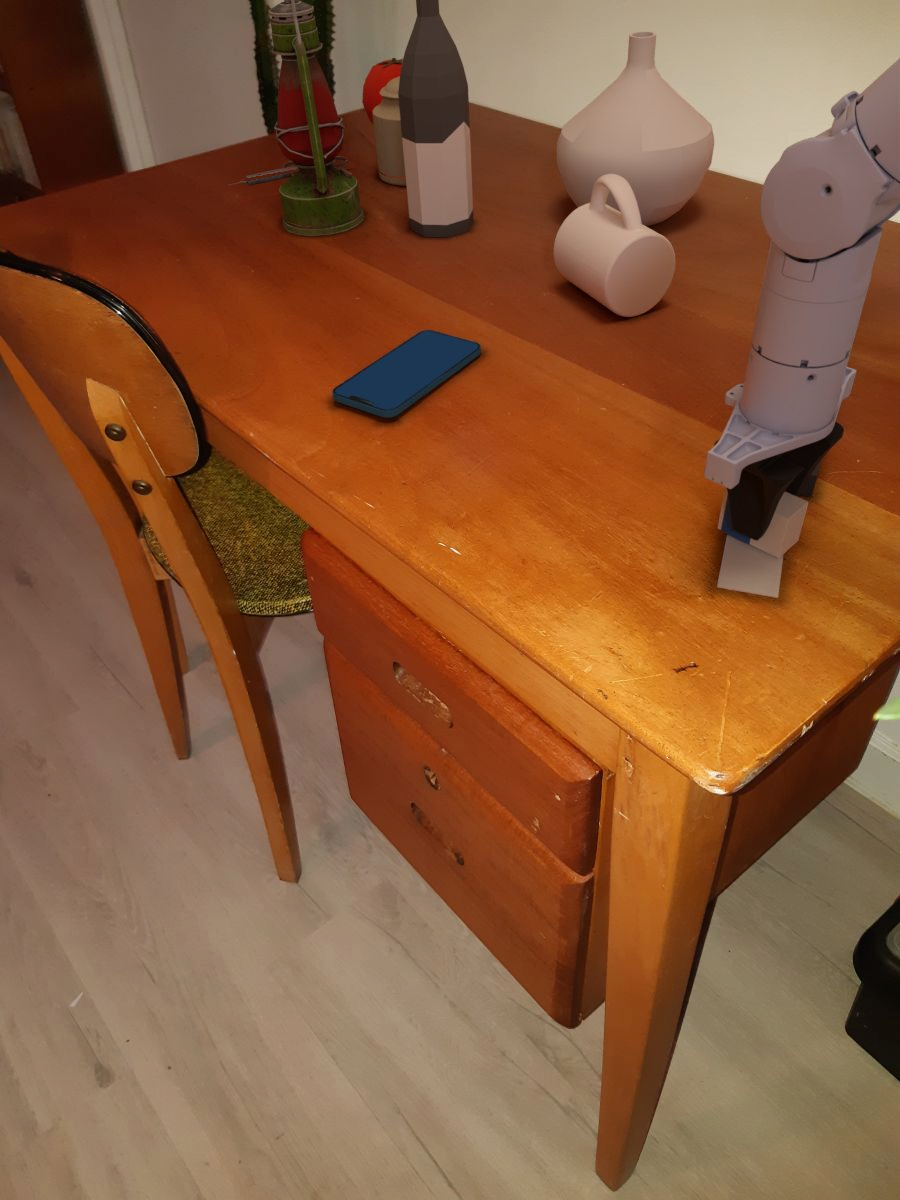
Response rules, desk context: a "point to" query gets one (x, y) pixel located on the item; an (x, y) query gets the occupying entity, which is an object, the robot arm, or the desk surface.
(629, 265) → the mug
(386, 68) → the tomato
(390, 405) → the smartphone
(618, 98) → the vase
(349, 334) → the desk surface
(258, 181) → the syringe
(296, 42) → the lantern
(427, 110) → the wine bottle
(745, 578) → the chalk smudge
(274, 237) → the desk surface
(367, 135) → the desk surface
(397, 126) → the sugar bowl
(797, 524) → the eraser
